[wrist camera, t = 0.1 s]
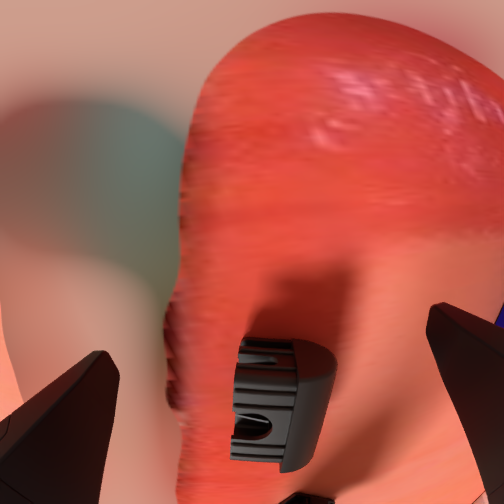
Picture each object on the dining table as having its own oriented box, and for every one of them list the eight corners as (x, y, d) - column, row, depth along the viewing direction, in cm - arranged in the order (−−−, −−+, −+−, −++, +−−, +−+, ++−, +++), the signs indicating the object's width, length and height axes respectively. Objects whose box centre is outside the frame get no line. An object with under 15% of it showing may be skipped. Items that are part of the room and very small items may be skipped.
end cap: (308, 423, 25) (317, 473, 19) (235, 420, 26) (229, 471, 19) (327, 335, 24) (347, 380, 17) (241, 330, 24) (233, 375, 17)
